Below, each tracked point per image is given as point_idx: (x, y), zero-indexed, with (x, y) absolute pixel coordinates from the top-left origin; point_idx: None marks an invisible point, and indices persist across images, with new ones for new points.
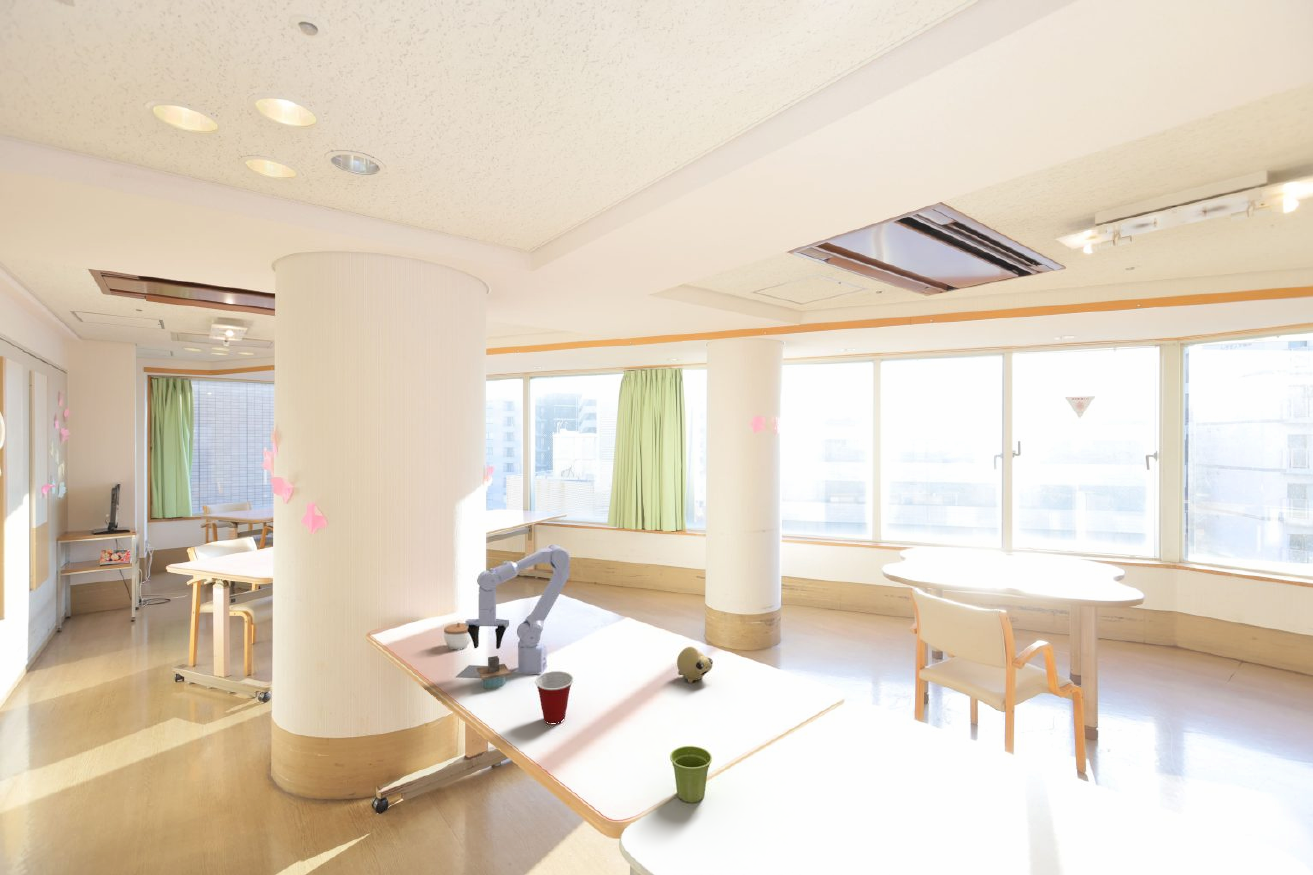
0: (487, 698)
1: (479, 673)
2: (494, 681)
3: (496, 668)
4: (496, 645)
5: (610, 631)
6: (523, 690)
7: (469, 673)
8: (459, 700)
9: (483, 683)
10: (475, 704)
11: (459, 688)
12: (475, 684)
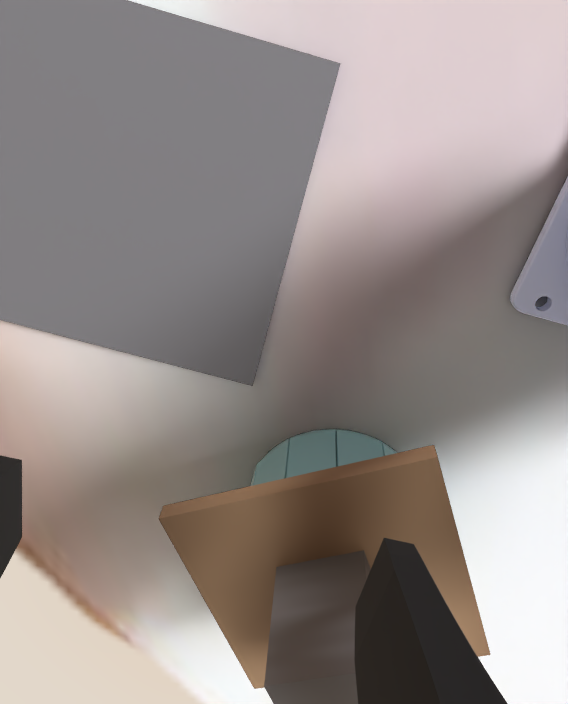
0: None
1: (211, 603)
2: None
3: None
4: (361, 670)
5: None
6: (547, 603)
7: (62, 240)
8: (150, 643)
9: None
10: (255, 694)
11: (88, 501)
12: (187, 459)
